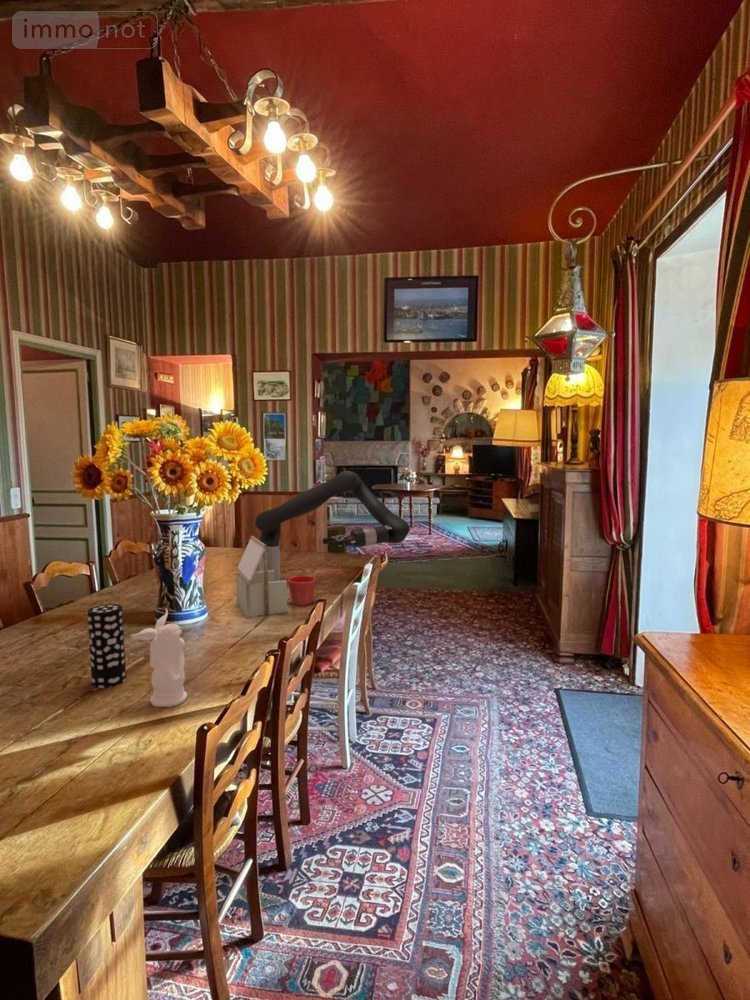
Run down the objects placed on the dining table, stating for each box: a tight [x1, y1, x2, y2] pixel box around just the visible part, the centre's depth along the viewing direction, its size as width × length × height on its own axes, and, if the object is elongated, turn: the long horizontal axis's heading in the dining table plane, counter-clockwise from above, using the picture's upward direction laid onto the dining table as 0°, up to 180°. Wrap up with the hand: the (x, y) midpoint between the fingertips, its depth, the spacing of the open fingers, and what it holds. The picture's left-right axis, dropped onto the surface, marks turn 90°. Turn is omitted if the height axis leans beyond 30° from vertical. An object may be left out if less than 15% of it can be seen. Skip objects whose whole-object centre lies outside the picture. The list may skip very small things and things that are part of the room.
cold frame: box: [235, 570, 288, 618], centre depth 216 cm, size 20×15×12 cm
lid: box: [235, 535, 267, 584], centre depth 213 cm, size 23×15×1 cm
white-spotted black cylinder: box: [87, 603, 127, 689], centre depth 149 cm, size 8×8×20 cm
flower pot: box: [287, 575, 317, 606], centre depth 223 cm, size 11×11×10 cm
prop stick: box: [263, 553, 270, 617], centre depth 205 cm, size 1×1×24 cm
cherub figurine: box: [130, 607, 188, 708], centre depth 137 cm, size 12×12×22 cm
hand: (325, 542), depth 224 cm, fingers open, 8 cm apart
